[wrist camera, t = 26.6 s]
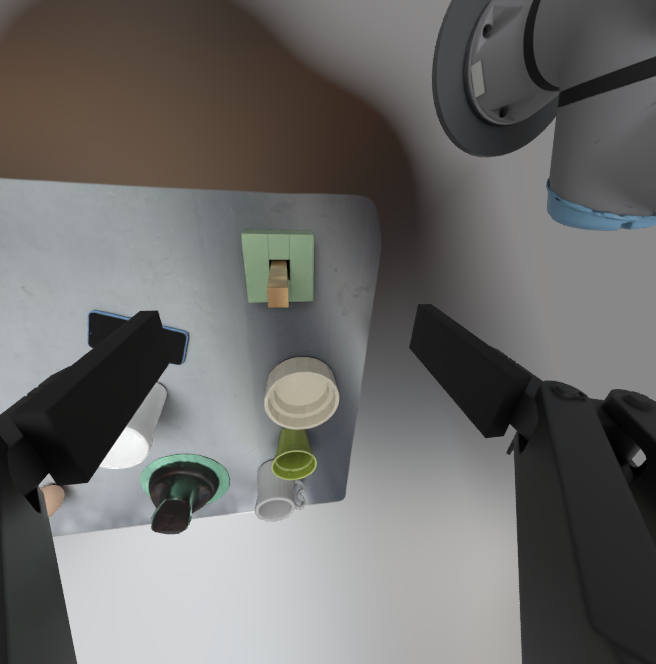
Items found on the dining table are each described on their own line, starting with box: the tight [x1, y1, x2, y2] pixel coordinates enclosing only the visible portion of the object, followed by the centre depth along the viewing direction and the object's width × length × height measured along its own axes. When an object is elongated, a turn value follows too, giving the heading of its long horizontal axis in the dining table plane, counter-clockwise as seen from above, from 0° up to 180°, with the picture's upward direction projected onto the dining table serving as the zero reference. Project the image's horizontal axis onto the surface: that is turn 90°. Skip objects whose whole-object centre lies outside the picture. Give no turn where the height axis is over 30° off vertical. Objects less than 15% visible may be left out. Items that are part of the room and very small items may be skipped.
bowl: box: [264, 357, 339, 430], centre depth 53 cm, size 14×14×6 cm
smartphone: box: [88, 310, 188, 365], centre depth 46 cm, size 7×1×15 cm
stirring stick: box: [267, 260, 289, 308], centre depth 36 cm, size 2×2×18 cm
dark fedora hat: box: [140, 454, 229, 534], centre depth 62 cm, size 15×19×20 cm
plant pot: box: [271, 428, 317, 480], centre depth 58 cm, size 9×9×9 cm
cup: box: [100, 382, 167, 469], centre depth 45 cm, size 10×10×13 cm
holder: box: [241, 229, 314, 303], centre depth 41 cm, size 10×10×6 cm
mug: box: [255, 460, 306, 521], centre depth 63 cm, size 12×9×10 cm
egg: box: [41, 485, 65, 518], centre depth 55 cm, size 6×6×8 cm
